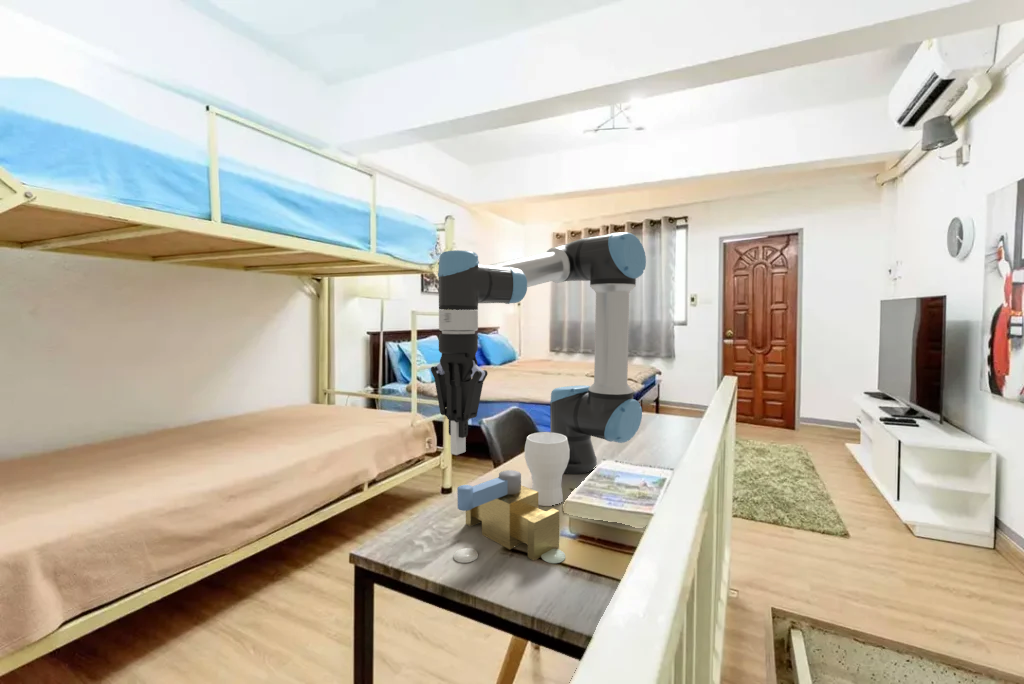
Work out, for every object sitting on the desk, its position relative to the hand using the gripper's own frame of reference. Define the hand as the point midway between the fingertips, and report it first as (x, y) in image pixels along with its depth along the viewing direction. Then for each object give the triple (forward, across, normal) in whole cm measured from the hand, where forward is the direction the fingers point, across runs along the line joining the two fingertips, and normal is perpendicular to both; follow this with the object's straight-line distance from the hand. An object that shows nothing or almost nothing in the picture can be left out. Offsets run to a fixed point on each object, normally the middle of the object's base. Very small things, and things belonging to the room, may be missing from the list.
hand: (458, 452), depth 88 cm
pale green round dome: (+17, +19, +5) cm, 26 cm away
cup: (+17, +5, +26) cm, 31 cm away
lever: (+8, +7, +2) cm, 11 cm away
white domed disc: (+17, +6, -4) cm, 19 cm away
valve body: (+17, +8, +7) cm, 20 cm away
